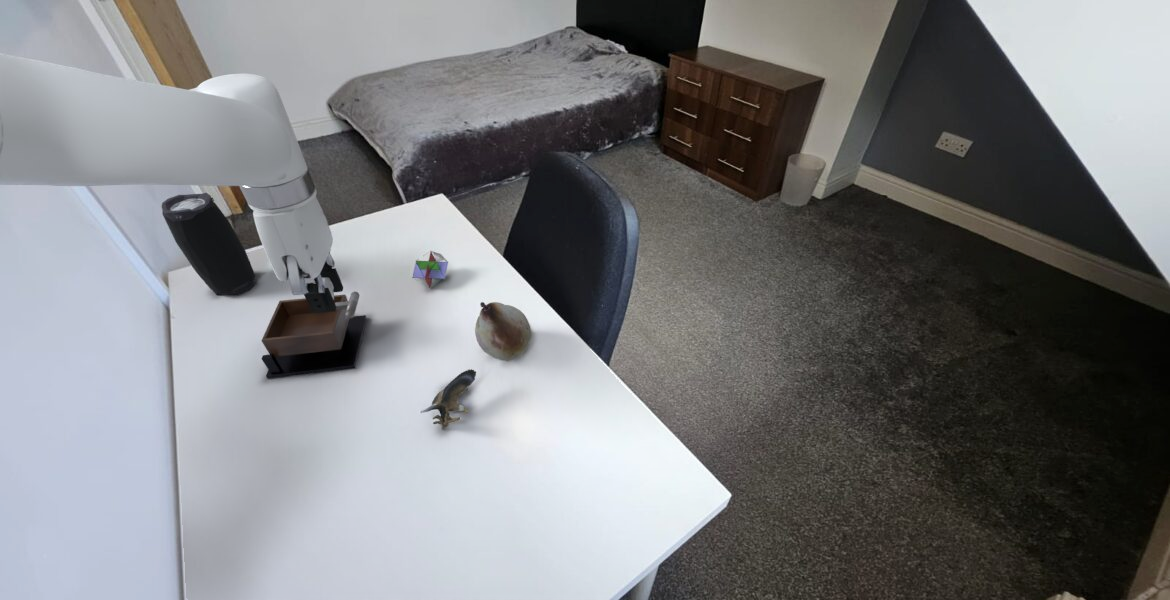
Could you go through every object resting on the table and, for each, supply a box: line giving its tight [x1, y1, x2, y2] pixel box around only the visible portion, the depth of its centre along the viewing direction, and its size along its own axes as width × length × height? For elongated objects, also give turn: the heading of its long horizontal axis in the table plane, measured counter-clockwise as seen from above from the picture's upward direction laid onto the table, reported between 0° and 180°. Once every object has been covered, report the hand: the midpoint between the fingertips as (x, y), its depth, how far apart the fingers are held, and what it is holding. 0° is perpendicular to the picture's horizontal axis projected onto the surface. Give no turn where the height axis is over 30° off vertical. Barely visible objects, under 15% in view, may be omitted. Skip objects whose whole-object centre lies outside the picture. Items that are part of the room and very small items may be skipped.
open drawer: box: [261, 291, 360, 357], centre depth 81 cm, size 14×10×6 cm
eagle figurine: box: [420, 368, 477, 431], centre depth 74 cm, size 8×7×9 cm
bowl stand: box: [261, 314, 368, 380], centre depth 84 cm, size 14×13×5 cm
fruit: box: [474, 301, 532, 362], centre depth 82 cm, size 10×9×12 cm
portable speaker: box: [161, 192, 256, 296], centre depth 91 cm, size 9×9×20 cm
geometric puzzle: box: [411, 250, 449, 290], centre depth 98 cm, size 7×7×8 cm
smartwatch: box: [322, 278, 335, 300], centre depth 68 cm, size 4×2×4 cm, turn 16°
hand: (328, 299), depth 69 cm, fingers closed on smartwatch, 3 cm apart
